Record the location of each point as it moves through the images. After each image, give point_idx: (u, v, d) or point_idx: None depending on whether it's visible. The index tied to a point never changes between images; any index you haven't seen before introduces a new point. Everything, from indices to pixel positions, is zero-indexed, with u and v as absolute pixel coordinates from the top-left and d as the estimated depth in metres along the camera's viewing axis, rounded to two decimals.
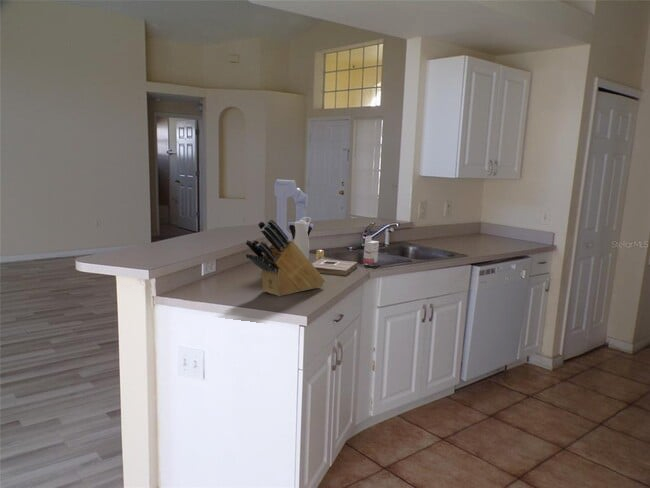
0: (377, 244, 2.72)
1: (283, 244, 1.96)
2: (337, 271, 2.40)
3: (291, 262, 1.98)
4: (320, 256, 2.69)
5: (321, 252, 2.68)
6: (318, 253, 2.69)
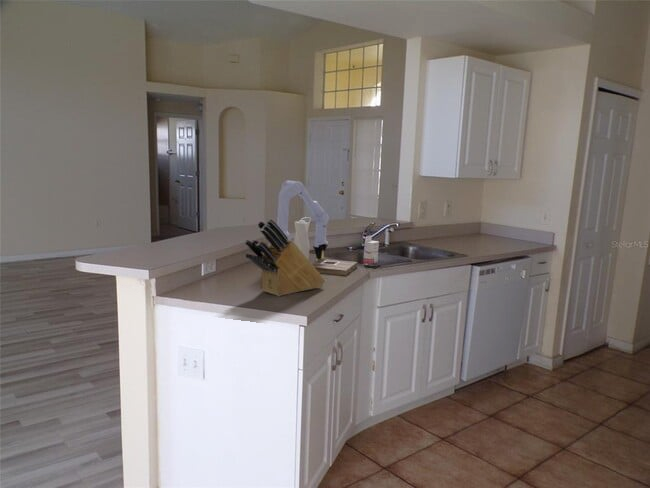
0: (377, 244, 2.72)
1: (283, 244, 1.97)
2: (337, 271, 2.40)
3: (291, 262, 1.99)
4: None
5: None
6: None
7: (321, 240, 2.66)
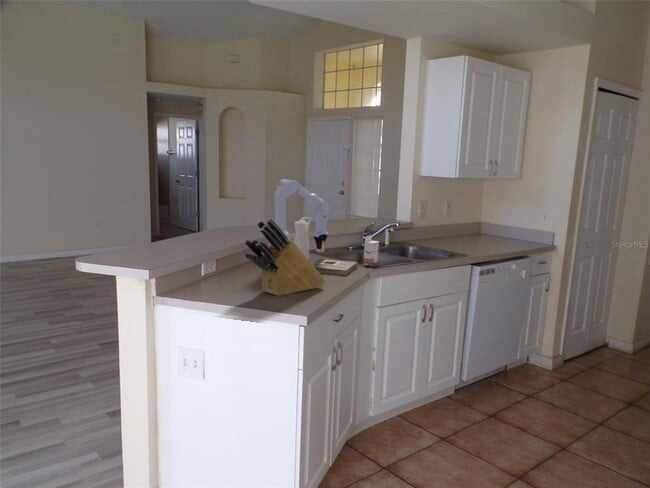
0: (377, 244, 2.72)
1: (282, 244, 1.97)
2: (337, 271, 2.40)
3: (290, 262, 1.99)
4: None
5: None
6: None
7: (321, 230, 2.65)
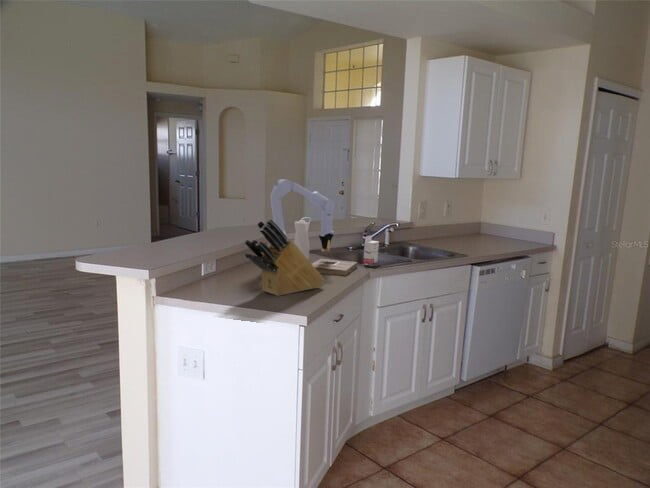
0: (377, 244, 2.72)
1: (282, 244, 1.97)
2: (337, 271, 2.40)
3: (290, 262, 1.99)
4: None
5: None
6: None
7: (327, 229, 2.56)
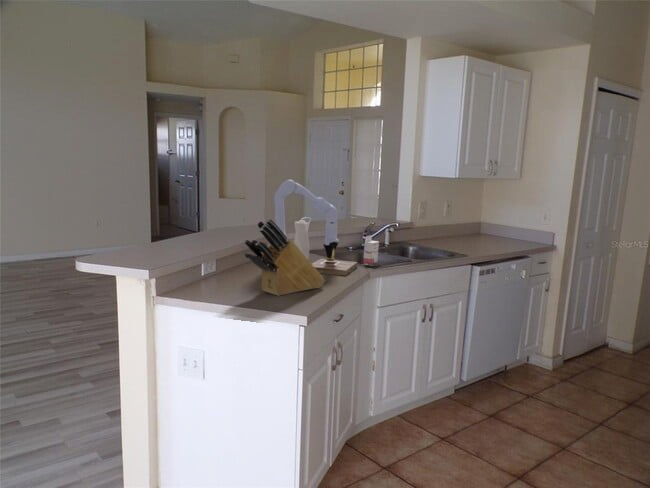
0: (377, 244, 2.72)
1: (282, 244, 1.97)
2: (337, 271, 2.40)
3: (290, 262, 1.99)
4: None
5: None
6: None
7: (332, 238, 2.50)
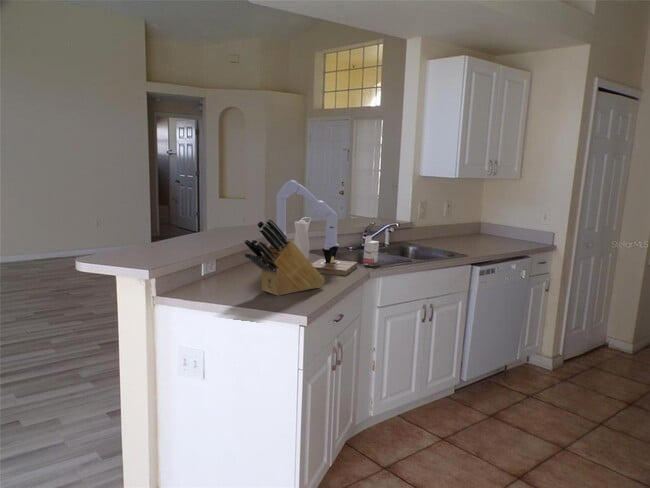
0: (377, 244, 2.72)
1: (282, 244, 1.97)
2: (337, 271, 2.40)
3: (290, 262, 1.99)
4: (330, 263, 2.52)
5: (331, 258, 2.52)
6: None
7: (331, 242, 2.50)
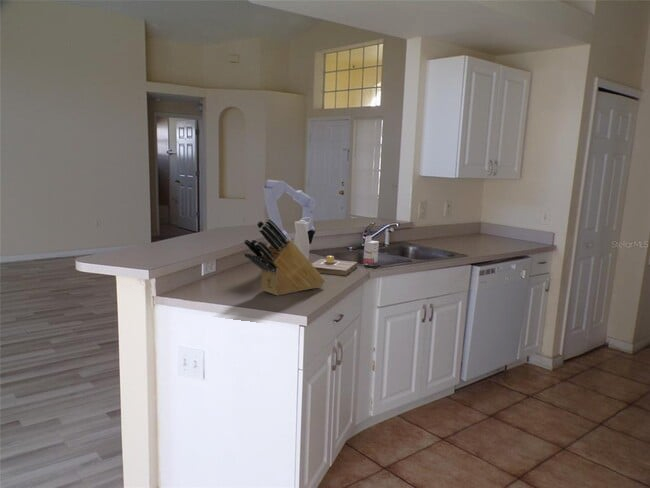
0: (377, 244, 2.72)
1: (281, 244, 1.97)
2: (337, 271, 2.40)
3: (289, 262, 1.99)
4: (330, 263, 2.52)
5: (331, 258, 2.52)
6: (327, 259, 2.53)
7: None
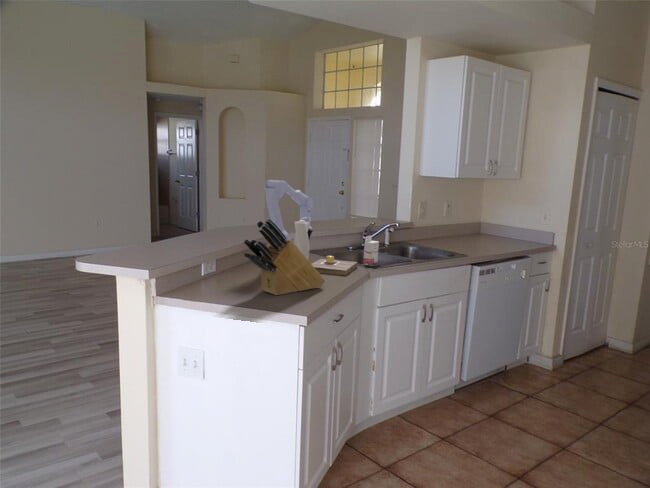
0: (377, 244, 2.72)
1: (281, 243, 1.97)
2: (337, 271, 2.40)
3: (289, 262, 1.99)
4: (330, 263, 2.52)
5: (331, 258, 2.52)
6: (327, 259, 2.53)
7: None
